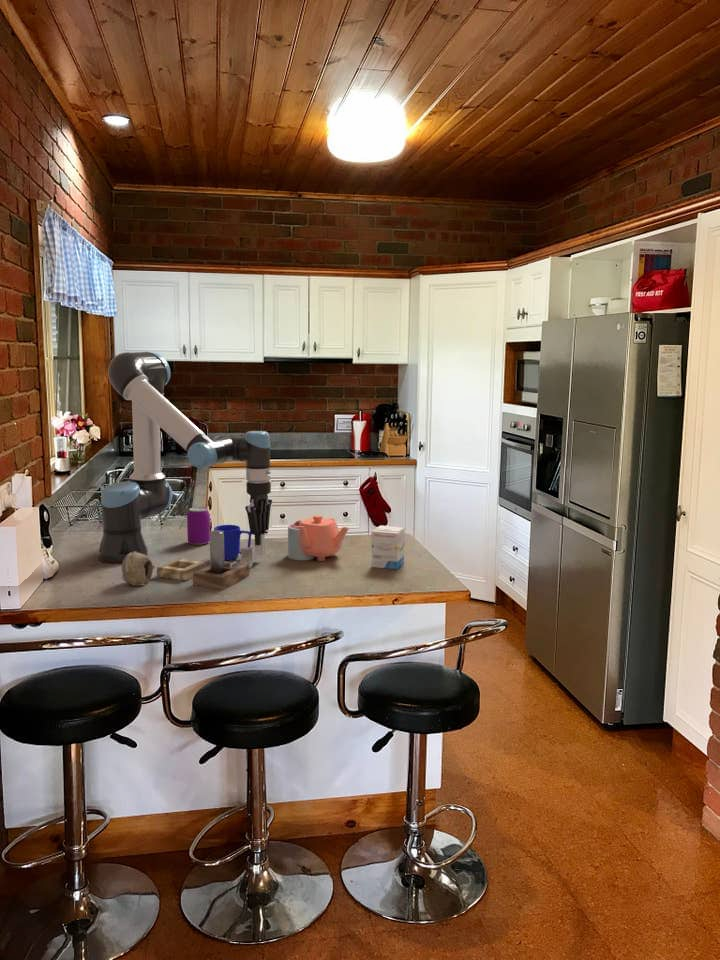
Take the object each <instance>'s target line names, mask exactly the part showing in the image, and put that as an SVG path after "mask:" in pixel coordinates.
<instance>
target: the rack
mask: <svg viewBox="0 0 720 960" xmlns="http://www.w3.org/2000/svg"><path fill="white" fill-rule="evenodd" d="M205 567H206V562H205V561H199V560H191V559H186V558H185V559H184V558H178V557H177V558H175V559H173V560H169V561H167V562H165V563H163V564H161V565H158V566H157V567H156V577H157V576H160V577H159V578H162V577H167V578H166V579H168V578H173V579H172V580H175V579H179V580H178V581H181V580H185V581H184V582H187V581H189V580H191V579H193V578H192V577H193V573H194V572H197V571H199V570H201V569H203V568H205ZM186 580H187V581H186Z"/></svg>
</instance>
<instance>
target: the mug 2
mask: <svg viewBox="0 0 720 960" xmlns="http://www.w3.org/2000/svg"><path fill="white" fill-rule="evenodd" d="M298 525H299V523H298V524H294V523H291V524H289V525H288V526H287V557H288V558H289V559H291V560H294V561H310V560H313V559H315V558H316V559H317V556H308V555H305V554H304V553H303V552H302V550H301V544H300V541H299V538H300V529H299V528H297V527H298ZM306 531H307V529H306Z"/></svg>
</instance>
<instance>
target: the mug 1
mask: <svg viewBox="0 0 720 960" xmlns="http://www.w3.org/2000/svg"><path fill="white" fill-rule="evenodd" d="M214 530H221V531H224V561H231V560H235V559H236V558H238V556H239V554H240V555H241V535H242V534H248V540H247V541H248V543H247V547H249V548H251V543H252V542H251V541H252V534H251V533H250V530H242V529H241V527H240V526H238V525H236V524H222V525H217V526H215V527H214V528H213V531H214Z"/></svg>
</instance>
